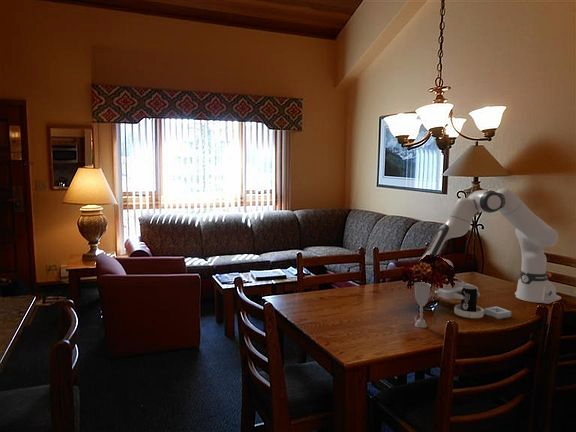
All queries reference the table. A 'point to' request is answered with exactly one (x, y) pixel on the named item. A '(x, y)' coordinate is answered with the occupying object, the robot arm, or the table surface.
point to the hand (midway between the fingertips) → (471, 296)
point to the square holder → (497, 312)
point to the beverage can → (469, 298)
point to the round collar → (477, 314)
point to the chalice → (422, 300)
